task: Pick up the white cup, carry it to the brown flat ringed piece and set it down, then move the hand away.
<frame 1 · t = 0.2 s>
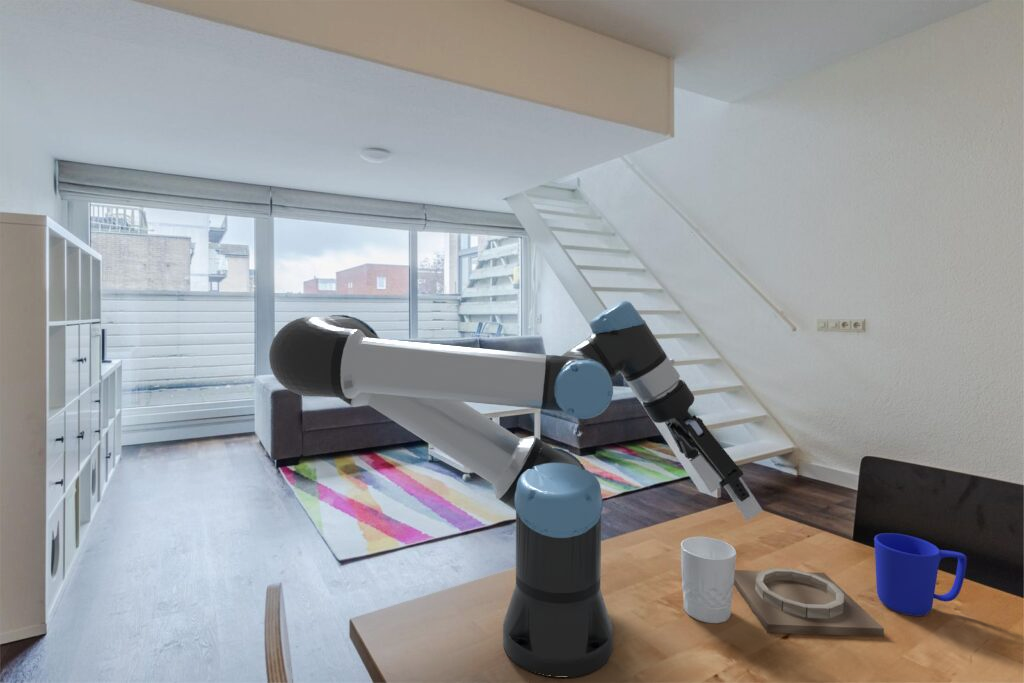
hand: (734, 500, 85), 16 cm above the table, tool tilted 35°, fingers open, 13 cm apart
white cup: (706, 612, 81), on the table
mug: (917, 609, 82), on the table
brown flat ringed piece: (798, 603, 83), on the table
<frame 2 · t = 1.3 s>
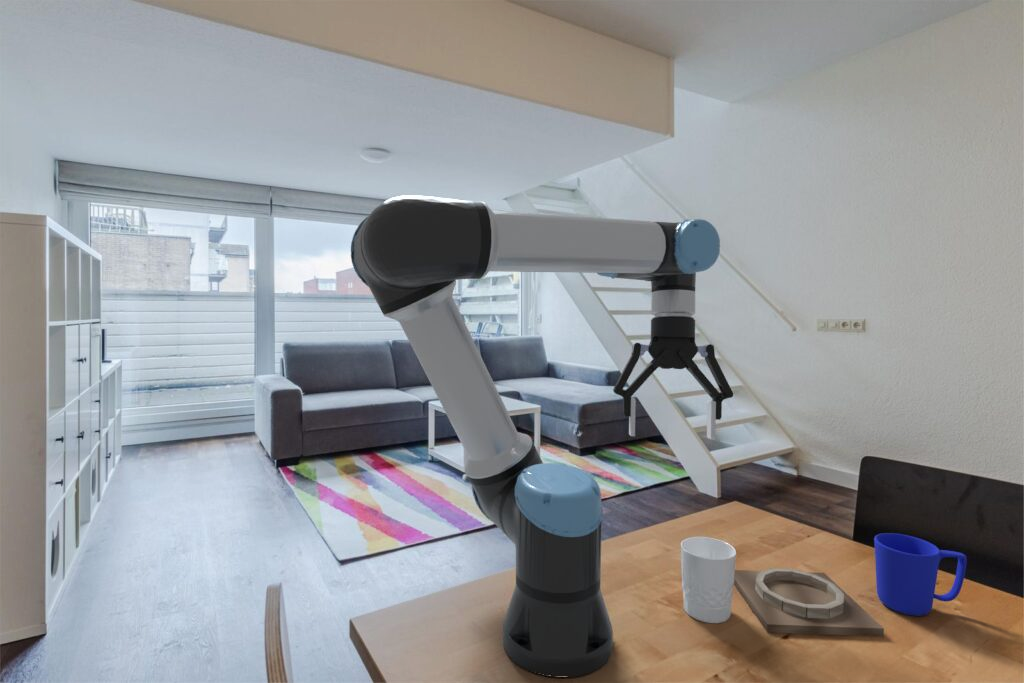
hand: (671, 437, 94), 24 cm above the table, tool pointing down, fingers open, 13 cm apart
nothing on the table moved.
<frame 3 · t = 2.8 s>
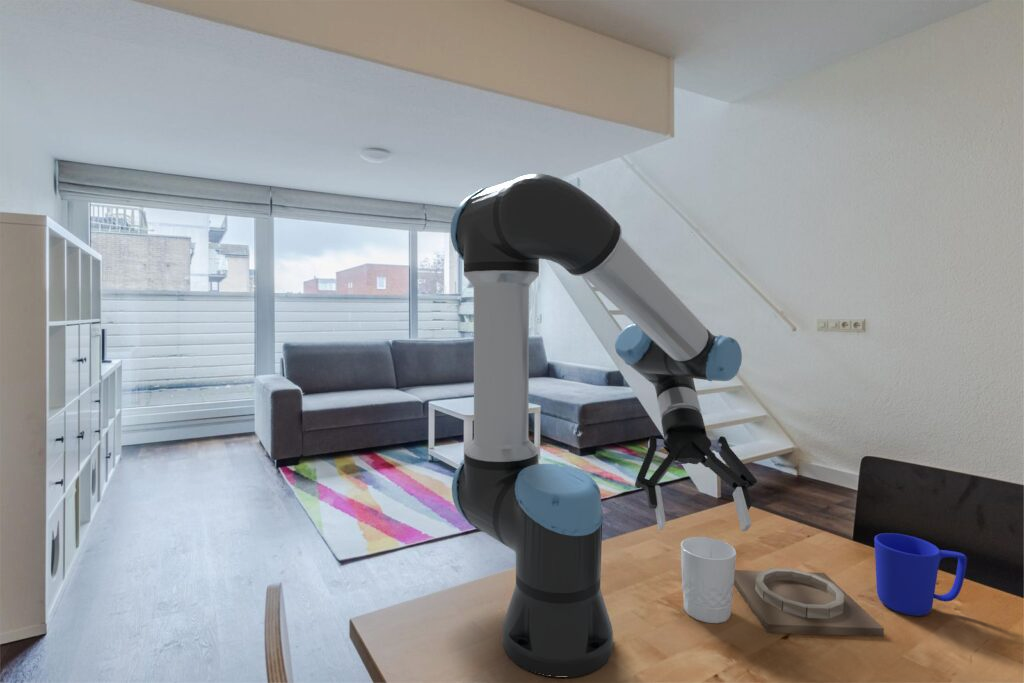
hand: (704, 527, 86), 11 cm above the table, tool tilted 45°, fingers open, 13 cm apart
nothing on the table moved.
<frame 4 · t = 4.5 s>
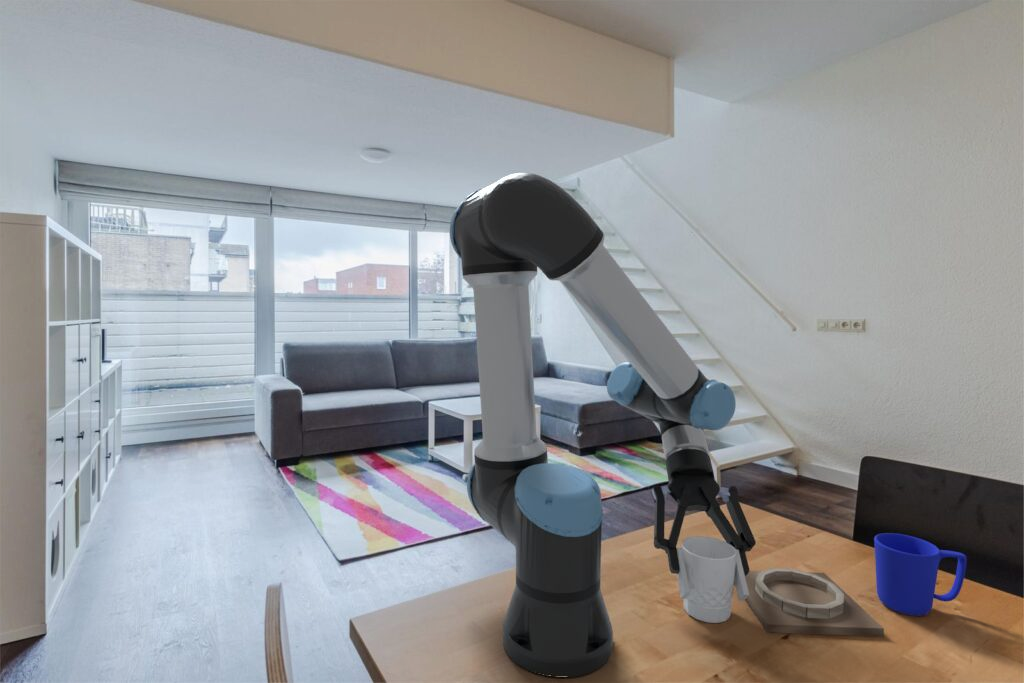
hand: (714, 596, 78), 4 cm above the table, tool tilted 45°, fingers closed on white cup, 8 cm apart
white cup: (706, 612, 81), on the table, touching gripper
everything else where it was.
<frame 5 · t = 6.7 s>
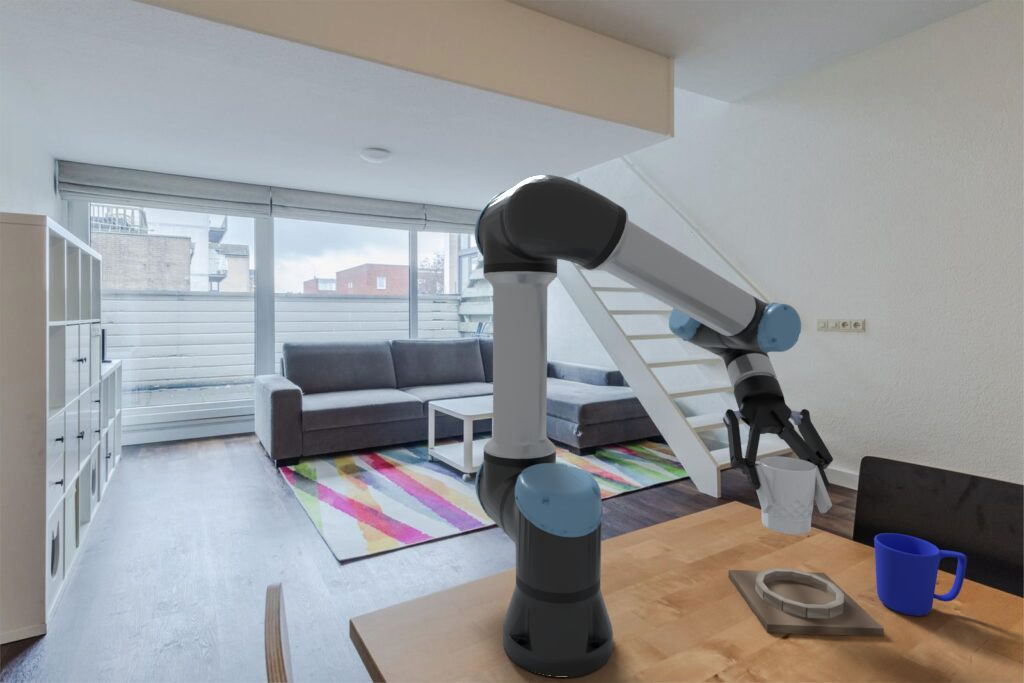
hand: (797, 508, 79), 16 cm above the table, tool tilted 45°, fingers closed on white cup, 8 cm apart
white cup: (785, 527, 83), point 12 cm above the table, touching gripper
everything else where it was.
when the fingers open (7 cm above the table, at t = 8.9 s): white cup drops 2 cm, resting on brown flat ringed piece.
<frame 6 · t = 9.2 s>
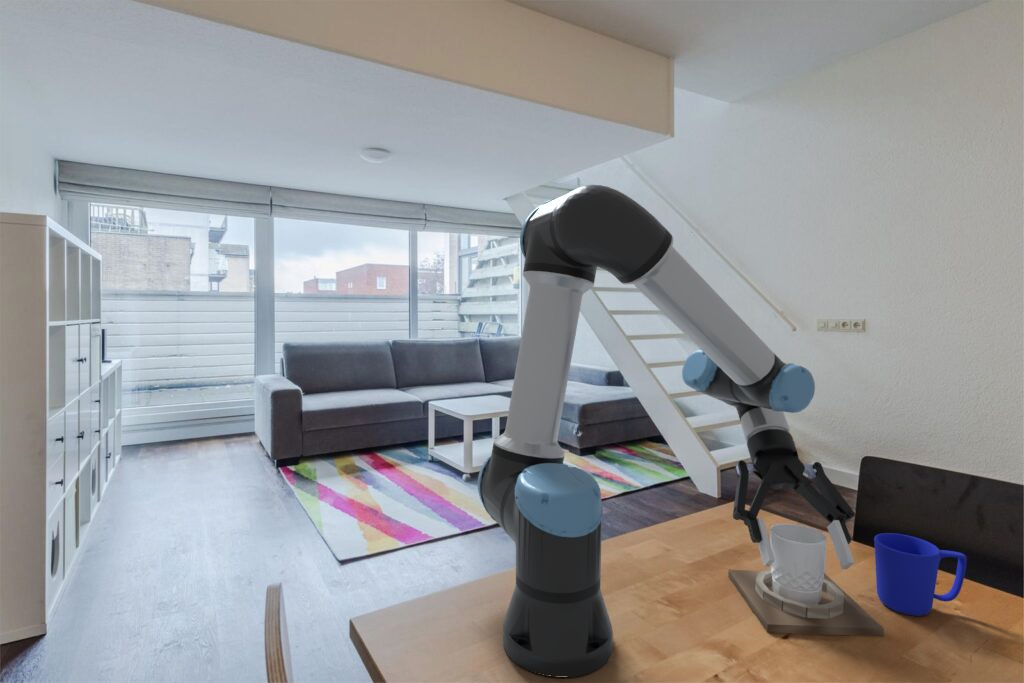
hand: (808, 564, 80), 8 cm above the table, tool tilted 45°, fingers open, 11 cm apart
white cup: (796, 596, 83), point 1 cm above the table, touching brown flat ringed piece
everything else where it was.
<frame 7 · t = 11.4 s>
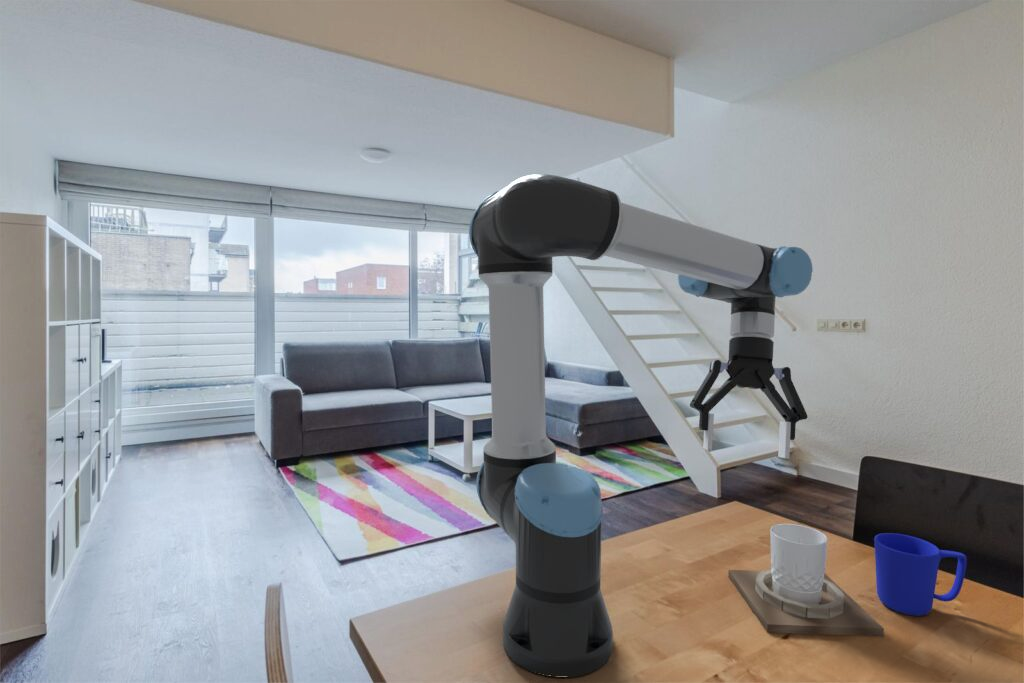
hand: (745, 453, 96), 20 cm above the table, tool pointing down, fingers open, 13 cm apart
nothing on the table moved.
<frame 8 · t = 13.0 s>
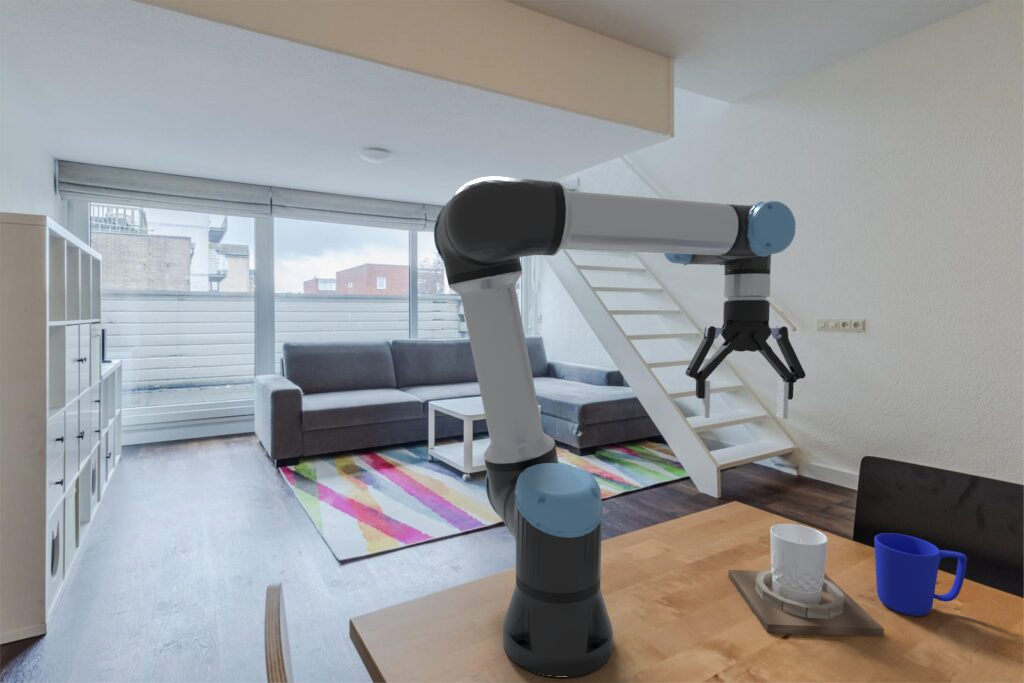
hand: (743, 417, 96), 27 cm above the table, tool pointing down, fingers open, 13 cm apart
nothing on the table moved.
at the end: white cup 0.3 cm from the brown flat ringed piece (horizontally); white cup tilted 0°; the gripper is holding nothing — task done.
